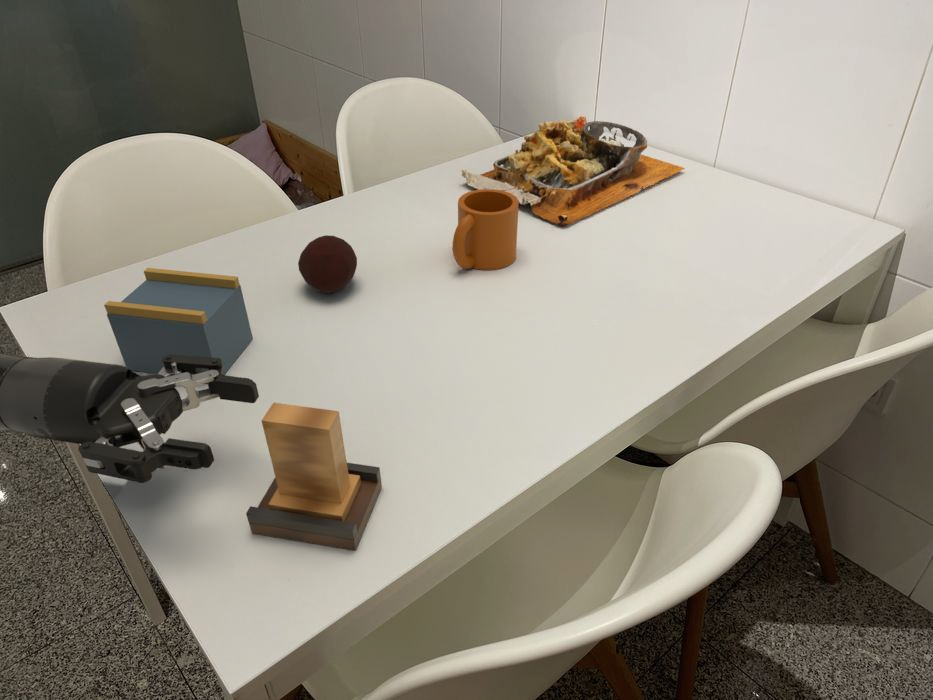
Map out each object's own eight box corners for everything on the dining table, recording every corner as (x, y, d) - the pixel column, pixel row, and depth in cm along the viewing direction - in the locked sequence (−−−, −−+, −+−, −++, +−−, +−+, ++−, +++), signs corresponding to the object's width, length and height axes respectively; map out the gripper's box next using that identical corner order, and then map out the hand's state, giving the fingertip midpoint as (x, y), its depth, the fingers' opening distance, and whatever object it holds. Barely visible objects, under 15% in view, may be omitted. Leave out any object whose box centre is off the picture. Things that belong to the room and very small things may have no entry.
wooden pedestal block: (270, 513, 64) (248, 429, 58) (292, 473, 67) (274, 392, 62) (343, 524, 62) (328, 441, 56) (361, 484, 66) (349, 402, 60)
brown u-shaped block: (251, 533, 64) (245, 513, 62) (286, 472, 70) (281, 452, 68) (355, 551, 62) (352, 530, 60) (382, 486, 68) (379, 466, 66)
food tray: (580, 139, 147) (585, 87, 141) (685, 172, 132) (695, 115, 126) (458, 185, 128) (456, 127, 122) (563, 229, 113) (568, 166, 107)
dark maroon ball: (357, 269, 103) (351, 221, 99) (362, 301, 96) (357, 251, 91) (302, 275, 102) (293, 227, 97) (303, 308, 95) (294, 257, 90)
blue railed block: (127, 370, 84) (102, 305, 78) (167, 329, 91) (148, 266, 85) (218, 382, 82) (200, 316, 76) (253, 338, 89) (238, 275, 83)
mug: (429, 261, 105) (427, 205, 100) (489, 237, 111) (490, 183, 106) (468, 284, 99) (467, 226, 94) (529, 257, 105) (531, 202, 100)
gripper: (-2, 420, 56) (181, 447, 53) (106, 324, 67) (262, 341, 65) (33, 485, 61) (204, 512, 58) (128, 384, 72) (275, 403, 69)
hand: (234, 422), depth 61 cm, fingers open, 8 cm apart
